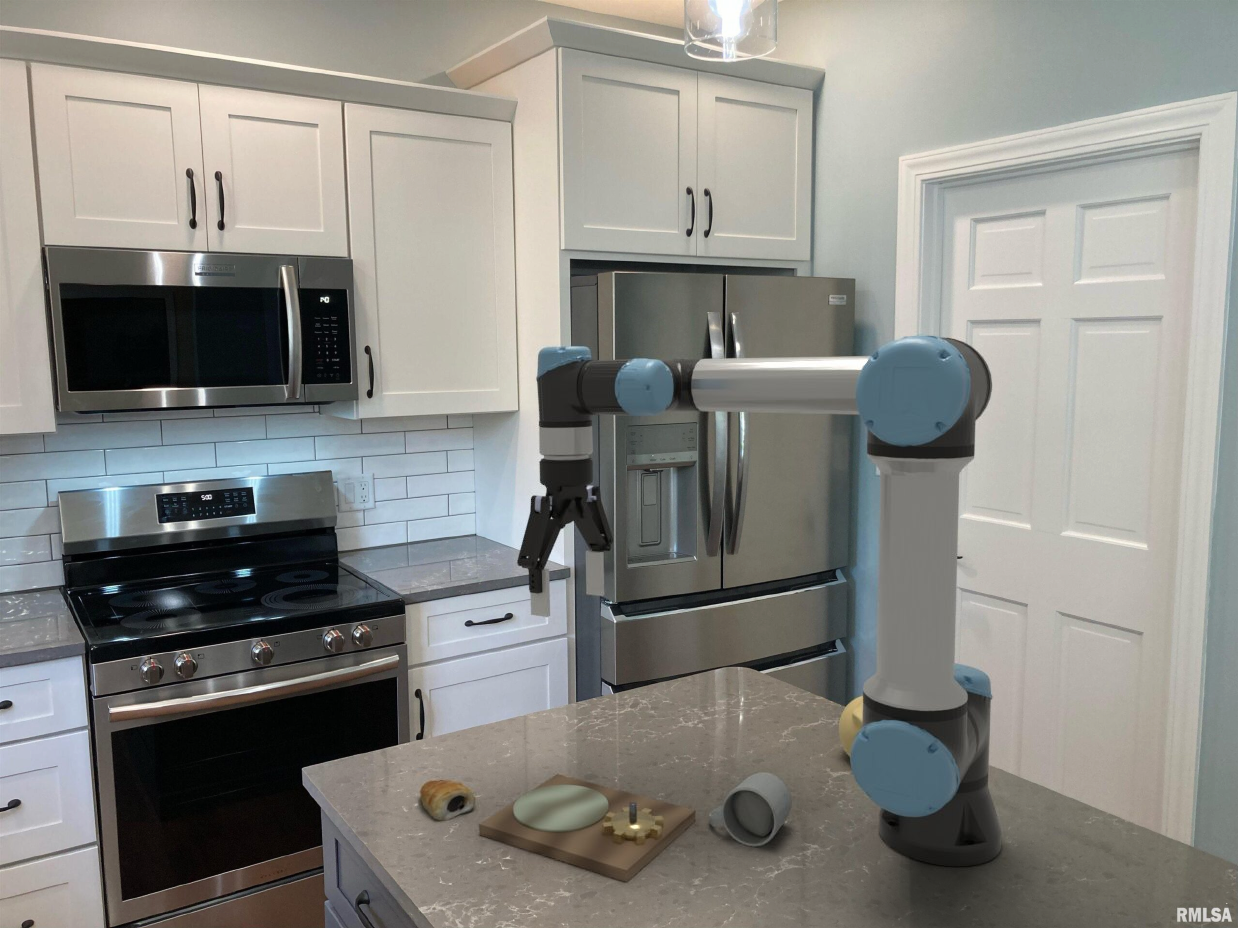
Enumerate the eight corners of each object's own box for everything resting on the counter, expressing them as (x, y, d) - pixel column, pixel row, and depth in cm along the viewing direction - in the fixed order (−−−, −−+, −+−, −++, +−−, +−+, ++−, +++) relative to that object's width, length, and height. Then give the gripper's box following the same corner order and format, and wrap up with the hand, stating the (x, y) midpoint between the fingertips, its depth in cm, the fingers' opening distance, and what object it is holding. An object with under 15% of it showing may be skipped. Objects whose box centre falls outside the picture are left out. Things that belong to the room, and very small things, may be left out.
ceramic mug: (795, 825, 128) (795, 769, 127) (776, 852, 121) (775, 794, 120) (721, 810, 133) (720, 757, 132) (699, 836, 126) (698, 780, 125)
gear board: (695, 820, 130) (695, 806, 129) (627, 881, 114) (626, 866, 114) (557, 783, 142) (557, 770, 142) (479, 834, 126) (478, 820, 126)
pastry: (408, 800, 137) (407, 775, 137) (451, 788, 141) (450, 763, 141) (437, 825, 130) (436, 798, 129) (481, 811, 134) (480, 785, 133)
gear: (674, 824, 126) (674, 798, 125) (644, 850, 119) (643, 823, 118) (623, 810, 130) (622, 784, 129) (590, 834, 123) (590, 808, 123)
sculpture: (867, 781, 141) (868, 711, 140) (825, 751, 152) (826, 685, 151) (932, 770, 145) (934, 702, 144) (887, 741, 156) (888, 677, 155)
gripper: (592, 448, 146) (595, 584, 148) (488, 463, 125) (492, 621, 127) (634, 450, 142) (636, 589, 144) (533, 466, 121) (537, 628, 123)
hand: (569, 604), depth 136 cm, fingers open, 13 cm apart
